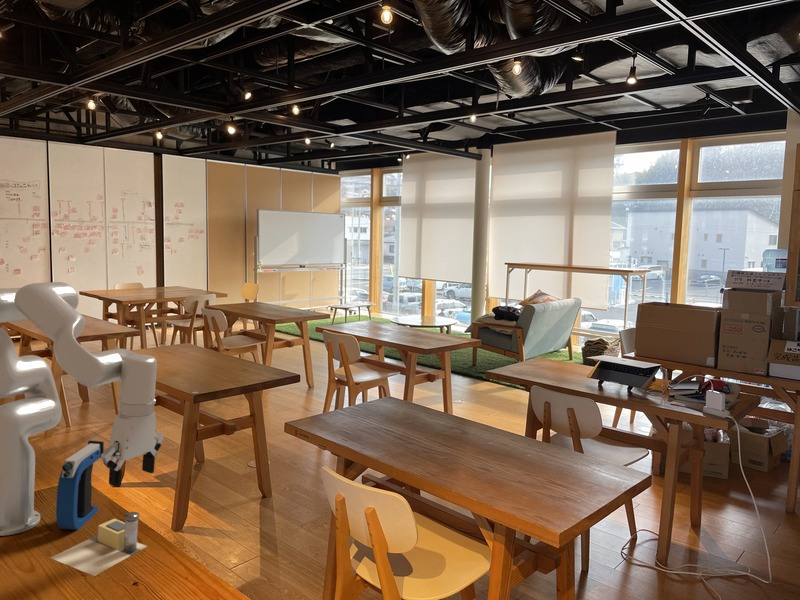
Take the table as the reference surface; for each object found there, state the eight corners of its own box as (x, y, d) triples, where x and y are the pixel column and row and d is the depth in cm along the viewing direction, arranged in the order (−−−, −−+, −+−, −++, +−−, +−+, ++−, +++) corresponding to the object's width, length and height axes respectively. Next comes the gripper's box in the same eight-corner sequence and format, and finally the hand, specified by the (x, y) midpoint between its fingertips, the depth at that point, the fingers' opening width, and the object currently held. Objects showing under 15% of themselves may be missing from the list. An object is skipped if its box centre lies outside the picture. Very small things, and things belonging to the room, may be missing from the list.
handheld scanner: (103, 510, 161) (105, 440, 159) (73, 539, 145) (74, 462, 143) (86, 509, 161) (88, 439, 159) (54, 538, 145) (55, 461, 143)
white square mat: (50, 562, 135) (50, 557, 135) (105, 534, 149) (105, 530, 149) (94, 580, 130) (94, 575, 130) (147, 550, 143) (147, 546, 143)
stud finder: (97, 541, 144) (98, 524, 143) (114, 533, 148) (114, 517, 147) (117, 550, 141) (117, 532, 140) (133, 542, 145) (134, 525, 144)
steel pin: (119, 551, 140) (121, 516, 139) (129, 545, 143) (131, 510, 142) (130, 554, 139) (132, 519, 138) (140, 548, 142) (142, 513, 141)
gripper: (153, 397, 147) (148, 463, 149) (92, 412, 131) (88, 486, 133) (176, 403, 144) (171, 470, 146) (117, 420, 128) (112, 495, 130)
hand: (131, 478), depth 139 cm, fingers open, 9 cm apart
